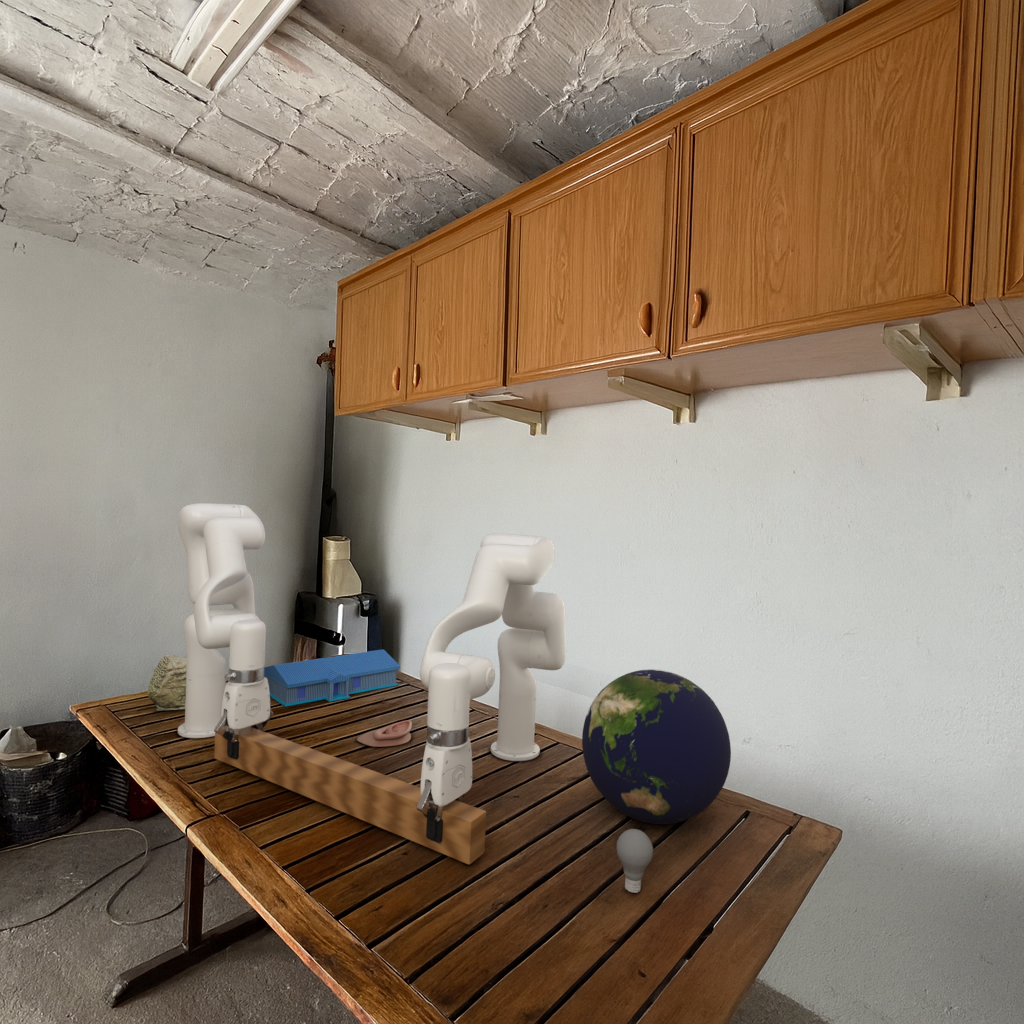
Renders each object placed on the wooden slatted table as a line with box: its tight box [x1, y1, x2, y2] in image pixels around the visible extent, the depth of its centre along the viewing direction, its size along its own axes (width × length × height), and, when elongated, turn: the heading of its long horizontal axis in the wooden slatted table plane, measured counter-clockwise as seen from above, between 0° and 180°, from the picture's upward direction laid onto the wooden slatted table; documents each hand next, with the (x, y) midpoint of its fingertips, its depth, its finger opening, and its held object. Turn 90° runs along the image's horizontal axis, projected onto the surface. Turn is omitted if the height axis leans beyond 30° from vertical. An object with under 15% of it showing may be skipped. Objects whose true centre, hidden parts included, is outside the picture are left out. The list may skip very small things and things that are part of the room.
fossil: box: [147, 654, 187, 712], centre depth 185 cm, size 9×18×15 cm, turn 132°
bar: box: [213, 726, 487, 866], centre depth 130 cm, size 73×5×8 cm, turn 58°
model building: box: [264, 649, 401, 707], centre depth 208 cm, size 39×24×10 cm, turn 132°
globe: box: [581, 668, 732, 825], centre depth 131 cm, size 30×30×30 cm
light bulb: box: [615, 828, 654, 894], centre depth 106 cm, size 6×6×10 cm
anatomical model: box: [356, 719, 413, 748], centre depth 166 cm, size 13×4×12 cm
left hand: (243, 752), depth 145 cm, fingers closed on bar, 4 cm apart
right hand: (443, 832), depth 115 cm, fingers closed on bar, 4 cm apart
